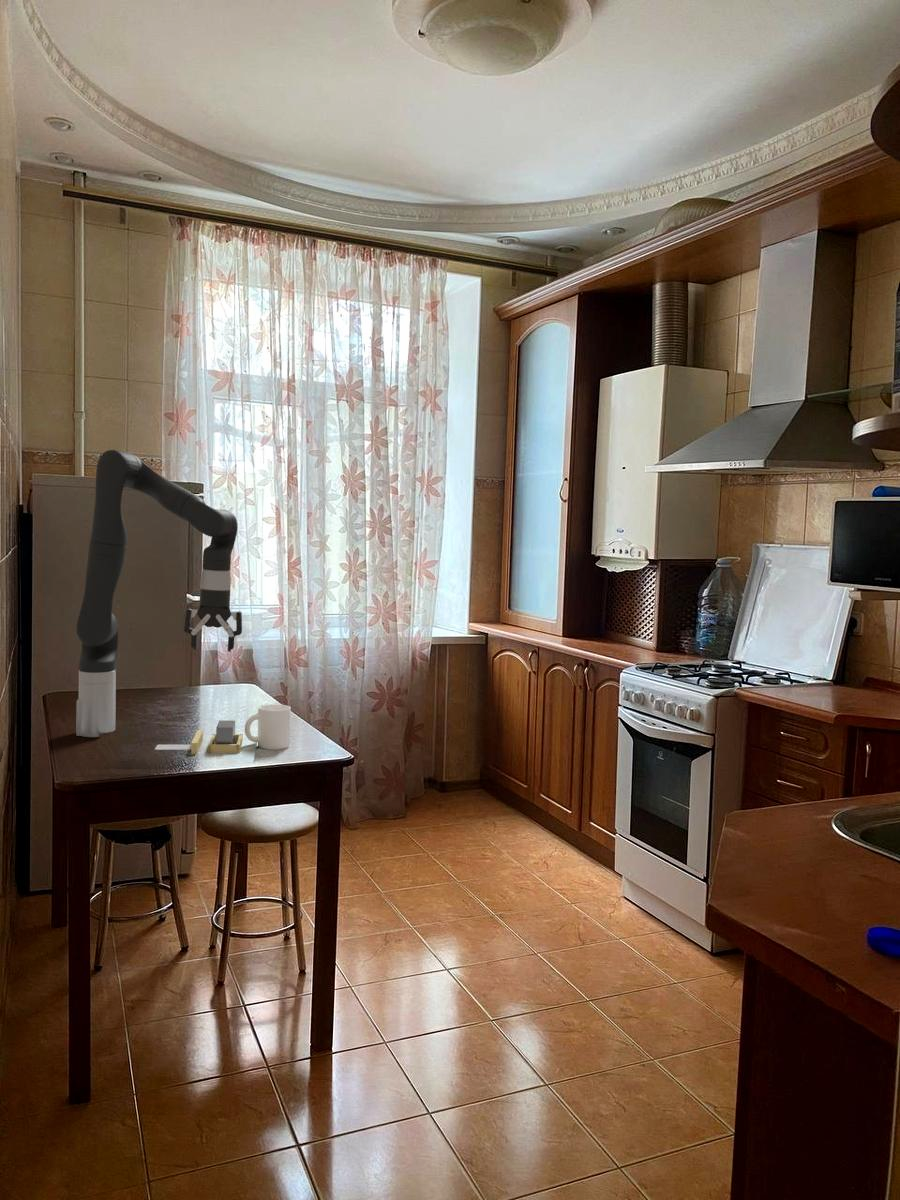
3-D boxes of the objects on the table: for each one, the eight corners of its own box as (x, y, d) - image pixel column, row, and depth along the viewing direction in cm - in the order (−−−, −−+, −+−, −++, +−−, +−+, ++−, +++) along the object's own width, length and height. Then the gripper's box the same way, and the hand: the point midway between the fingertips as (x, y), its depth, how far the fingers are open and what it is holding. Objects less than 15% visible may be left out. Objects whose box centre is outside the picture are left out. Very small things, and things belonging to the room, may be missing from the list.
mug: (249, 753, 235) (250, 712, 234) (239, 745, 242) (239, 706, 241) (294, 748, 241) (295, 709, 240) (283, 741, 248) (283, 703, 247)
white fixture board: (151, 758, 226) (151, 743, 226) (160, 744, 240) (160, 730, 240) (244, 758, 230) (244, 743, 230) (247, 744, 244) (247, 730, 243)
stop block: (219, 743, 239) (219, 720, 239) (234, 743, 240) (235, 720, 240) (215, 751, 232) (216, 727, 231) (232, 751, 232) (232, 727, 232)
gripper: (245, 588, 243) (241, 649, 244) (188, 584, 241) (186, 647, 242) (242, 590, 236) (239, 654, 237) (184, 587, 234) (181, 651, 235)
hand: (212, 650), depth 240 cm, fingers open, 8 cm apart
